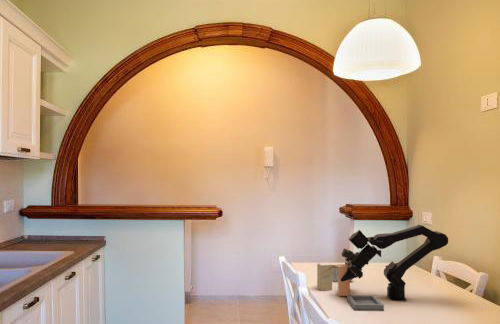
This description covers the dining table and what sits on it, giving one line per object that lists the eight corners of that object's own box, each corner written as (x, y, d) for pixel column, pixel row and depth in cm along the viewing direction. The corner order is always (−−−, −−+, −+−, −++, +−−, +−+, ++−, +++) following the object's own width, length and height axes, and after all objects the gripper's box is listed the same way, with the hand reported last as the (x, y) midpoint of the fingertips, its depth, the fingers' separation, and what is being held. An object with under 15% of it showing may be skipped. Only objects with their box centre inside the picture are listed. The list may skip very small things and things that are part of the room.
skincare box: (321, 291, 168) (320, 265, 168) (316, 288, 172) (316, 263, 173) (332, 290, 170) (332, 264, 170) (328, 287, 174) (328, 262, 174)
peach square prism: (348, 292, 164) (348, 264, 164) (350, 296, 159) (349, 267, 159) (337, 291, 165) (337, 264, 165) (338, 295, 160) (338, 266, 160)
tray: (374, 300, 156) (374, 295, 156) (383, 310, 144) (383, 305, 144) (346, 300, 156) (346, 294, 156) (354, 310, 144) (354, 304, 144)
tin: (353, 281, 185) (353, 265, 185) (354, 283, 181) (354, 266, 182) (324, 280, 186) (324, 264, 186) (325, 282, 183) (324, 265, 183)
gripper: (349, 239, 171) (326, 261, 173) (354, 247, 153) (329, 271, 154) (366, 256, 170) (343, 278, 171) (373, 266, 151) (347, 290, 153)
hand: (340, 279), depth 162 cm, fingers closed on peach square prism, 5 cm apart
